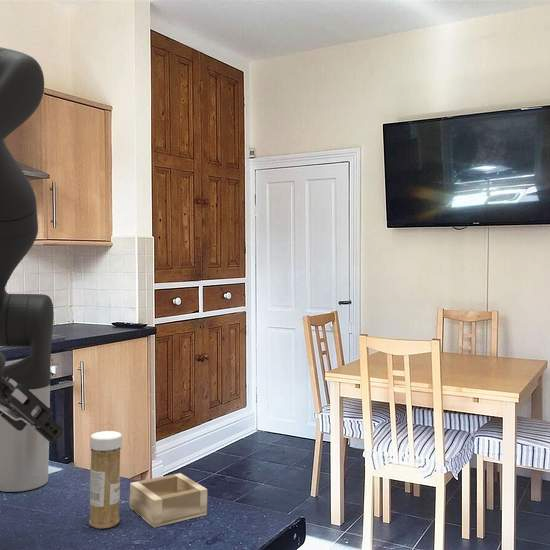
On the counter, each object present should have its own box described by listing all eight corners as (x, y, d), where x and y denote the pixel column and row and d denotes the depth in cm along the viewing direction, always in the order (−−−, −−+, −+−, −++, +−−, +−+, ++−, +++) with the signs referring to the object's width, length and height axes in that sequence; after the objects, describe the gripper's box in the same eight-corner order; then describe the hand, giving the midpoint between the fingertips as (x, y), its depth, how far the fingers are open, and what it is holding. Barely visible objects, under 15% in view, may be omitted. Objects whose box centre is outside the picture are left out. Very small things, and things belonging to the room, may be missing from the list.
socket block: (129, 507, 99) (130, 483, 99) (179, 496, 104) (180, 473, 104) (153, 527, 91) (154, 500, 91) (206, 514, 97) (207, 489, 97)
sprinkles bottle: (124, 525, 92) (126, 435, 92) (93, 532, 89) (95, 439, 89) (113, 515, 96) (116, 428, 96) (84, 520, 93) (86, 432, 93)
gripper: (5, 336, 73) (88, 417, 82) (-48, 326, 82) (32, 400, 91) (-42, 387, 69) (50, 466, 78) (-92, 371, 78) (-4, 443, 87)
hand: (40, 430), depth 84 cm, fingers open, 8 cm apart
